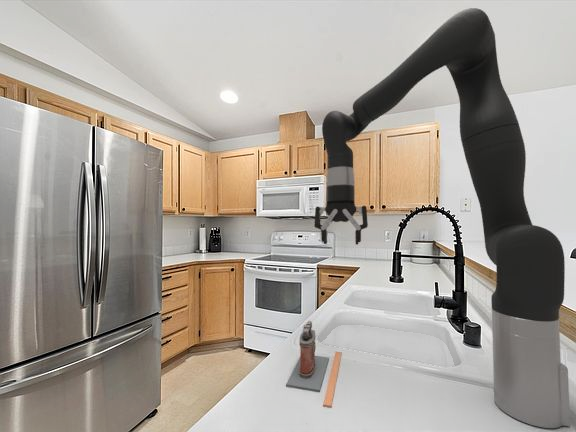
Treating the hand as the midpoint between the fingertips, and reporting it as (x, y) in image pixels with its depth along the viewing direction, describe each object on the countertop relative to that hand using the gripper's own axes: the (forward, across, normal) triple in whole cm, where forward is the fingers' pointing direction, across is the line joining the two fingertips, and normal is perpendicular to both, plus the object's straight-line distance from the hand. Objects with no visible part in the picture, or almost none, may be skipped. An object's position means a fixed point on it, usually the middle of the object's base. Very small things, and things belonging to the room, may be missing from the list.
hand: (340, 244), depth 74 cm
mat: (+28, +6, +14) cm, 32 cm away
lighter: (+28, +6, +14) cm, 32 cm away
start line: (+28, 0, +14) cm, 31 cm away
